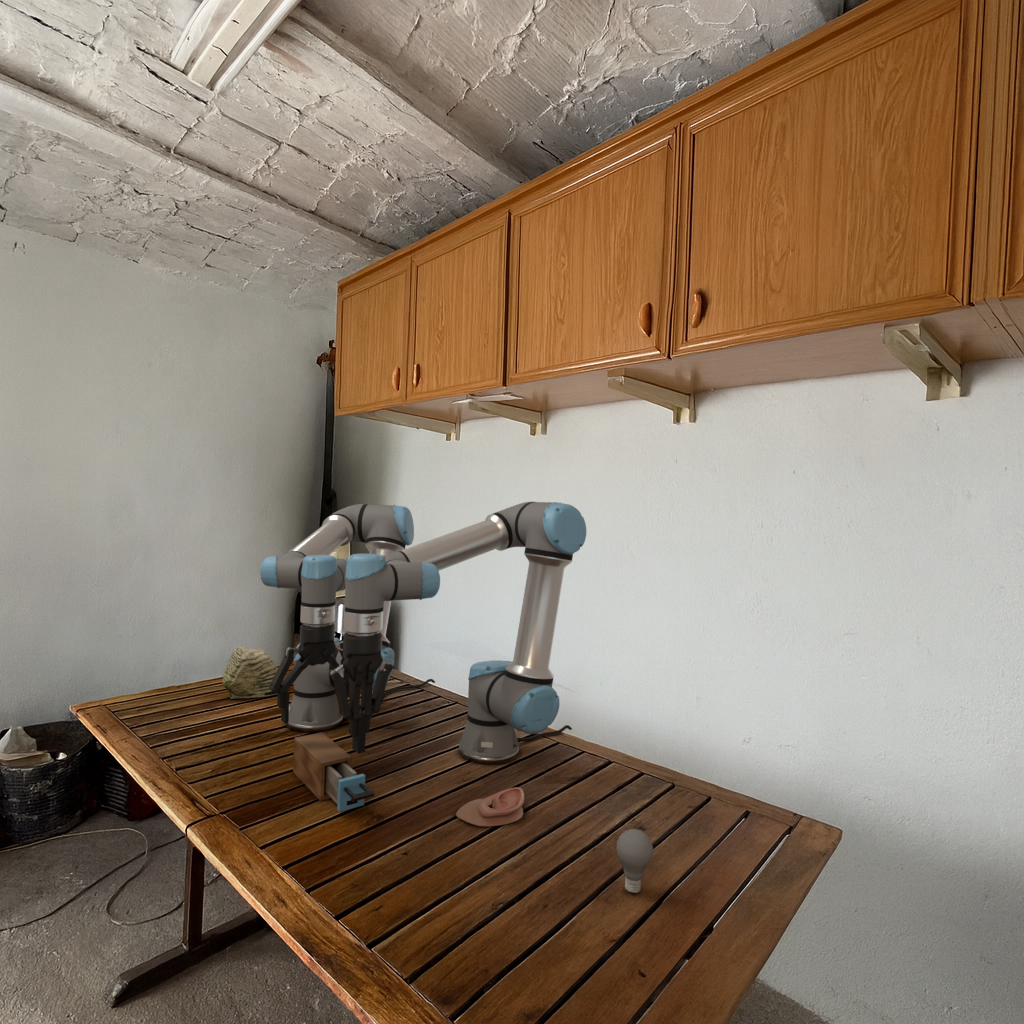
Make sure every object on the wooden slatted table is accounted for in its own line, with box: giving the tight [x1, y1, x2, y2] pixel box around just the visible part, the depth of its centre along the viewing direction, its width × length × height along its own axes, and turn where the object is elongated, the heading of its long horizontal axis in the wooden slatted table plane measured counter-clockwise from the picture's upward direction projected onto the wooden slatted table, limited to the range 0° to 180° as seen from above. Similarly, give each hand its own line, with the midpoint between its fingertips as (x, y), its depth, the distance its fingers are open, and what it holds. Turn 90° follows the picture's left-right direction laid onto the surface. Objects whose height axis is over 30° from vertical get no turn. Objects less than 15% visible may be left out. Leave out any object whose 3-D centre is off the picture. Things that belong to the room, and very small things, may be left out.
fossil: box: [222, 646, 286, 699], centre depth 198 cm, size 9×18×15 cm, turn 132°
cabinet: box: [292, 731, 352, 801], centre depth 141 cm, size 16×7×8 cm, turn 38°
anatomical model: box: [455, 786, 525, 827], centre depth 129 cm, size 13×4×12 cm
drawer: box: [324, 762, 375, 813], centre depth 131 cm, size 21×5×6 cm, turn 38°
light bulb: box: [615, 828, 654, 894], centre depth 106 cm, size 6×6×10 cm
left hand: (314, 716), depth 144 cm, fingers open, 13 cm apart
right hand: (358, 750), depth 126 cm, fingers closed
